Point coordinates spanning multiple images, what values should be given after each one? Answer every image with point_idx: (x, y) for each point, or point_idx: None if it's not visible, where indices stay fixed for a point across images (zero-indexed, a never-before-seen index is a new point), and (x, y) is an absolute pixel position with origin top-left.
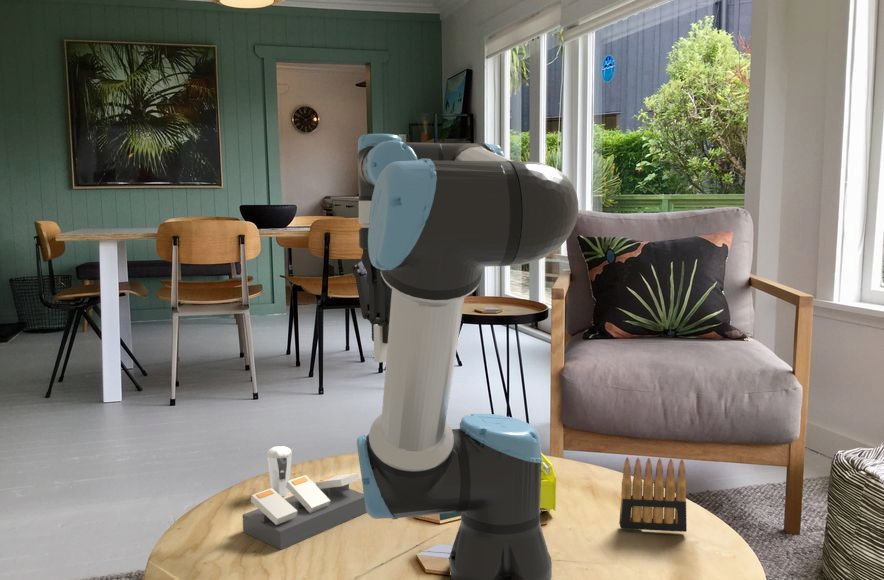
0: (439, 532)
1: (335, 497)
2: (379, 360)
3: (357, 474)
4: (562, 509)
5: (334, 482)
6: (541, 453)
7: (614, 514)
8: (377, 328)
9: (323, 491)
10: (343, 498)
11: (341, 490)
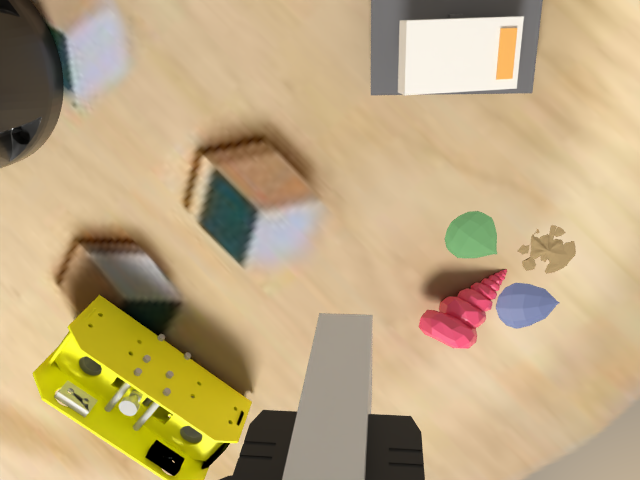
0: (167, 116)
1: None
2: (324, 320)
3: (403, 92)
4: None
5: (435, 19)
6: (113, 444)
7: (11, 385)
8: (313, 477)
9: None
10: None
11: None
